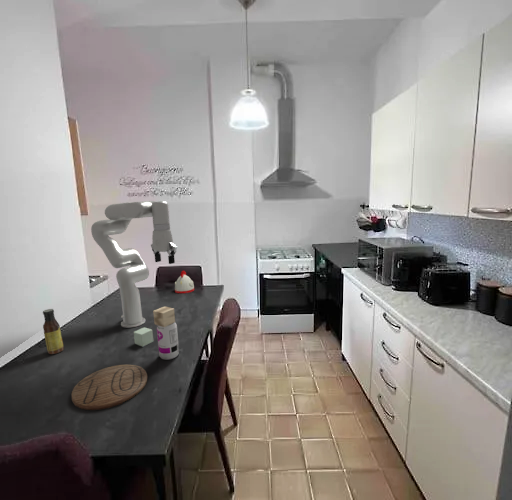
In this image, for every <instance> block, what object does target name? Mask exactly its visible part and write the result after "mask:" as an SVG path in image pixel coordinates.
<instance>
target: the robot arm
mask: <svg viewBox="0 0 512 500" xmlns="http://www.w3.org/2000/svg"><path fill="white" fill-rule="evenodd" d="M169 212H170V211H169V205H168V201H165V200H164V201H161V200H160V201H159V200H158V201H154V200H151V201H150V200H149V201H133V202H122V203H121V202H120V203H113V204H110V205H107V206H106V208H105V209H104V215H105V217H106V218H107V219H102V220H97V221H95V222H93V224H92V225H91V228H90V231H91V236H92V239H93V240H94V241H95V243H96V244H97V245H98V246H99V248H101V250H102V252H103V253H104V255H105V257H106V259H107V260H108V261H109V263H110V265H111V266H112V267H113V268H114V269H119V270H118V271H117V272H116V276H115V277H116V278H115V279H116V281H117V283H118V284H117V285H118V288H119V294H120V299H121V308H122V314H121V316H120V318H122V321H121V322H120V327H122V328H127V329H129V328H135V327H139V326H141V325H143V324H145V323H146V318H145V317H143V312H142V305H141V303H142V302H141V295H140V290H139V287H137V285H136V283H140V282H142V281H145V280H147V279H148V278H149V277H150V269H149V268H148V266H147V264H146V263H145V261H144V259H143V257H142V256H141V255H140V253H139V252H138V250H136V249H134V248H132V247H131V248H124V249H123V248H122V247H121V246H120V244H119V243H118V242H117V240H115V239H114V238H112V237H110V236H113V235H121V234H123V233H124V232H126V230H127V228H128V227H129V225H130V223H131V222H132V220H133V219H143V218H152V226H153V231H152V238H151V239H152V240H151V241H152V243H151V244H150V247H151V250H152V252H153V255H154V262H155V263H158V262H162V255H161V252H162V253H166V252H167V254H168V256H167V257H168V264H169V265H172V264H175V263H176V262H175V255H176V253H177V248H178V246H176V244H174V241H173V234H172V231H171V227H170V226H171V225H170V215H169V214H170V213H169Z"/></svg>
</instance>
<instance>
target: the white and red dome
mask: <svg viewBox="0 0 512 500" xmlns="http://www.w3.org/2000/svg"><path fill="white" fill-rule="evenodd" d="M194 291H195V285H194V281H193V280H192V279H191V278H190V276H188V275H187V272H186V271H185V270H181V272H180V276H179V277H178V278H177V280H176V281H175V282H174V292H175V294H188V293H192V292H194Z"/></svg>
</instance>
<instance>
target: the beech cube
mask: <svg viewBox="0 0 512 500" xmlns="http://www.w3.org/2000/svg"><path fill="white" fill-rule="evenodd" d="M152 312H153V321H154V322H153V323H154V325H156V326H162V327H166V326H168V325H170V324H172V323H174V322H175V323H176V317H175V313H176V312H175V308H172V307H170V306H169V307H168V306H162V307H159V308H157V309H154V310H153V311H152Z"/></svg>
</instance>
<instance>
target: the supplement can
mask: <svg viewBox="0 0 512 500" xmlns="http://www.w3.org/2000/svg"><path fill="white" fill-rule="evenodd" d="M156 334H157V335H156V336H157V344H158V347H157V348H158V355H159V356H158V357H160V359H162V360H165V361H166V360H172V359H175V358H177V357H178V355H179V354H180V347H179V346H180V345H179V335H178V325H177V323H176V321H175V322H174V323H172V324H170V325H168V326H166V327H162V326H158V325H156Z"/></svg>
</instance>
